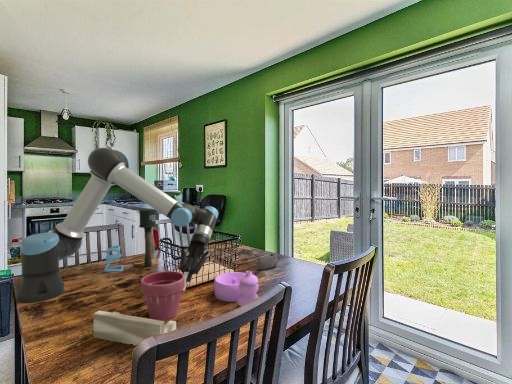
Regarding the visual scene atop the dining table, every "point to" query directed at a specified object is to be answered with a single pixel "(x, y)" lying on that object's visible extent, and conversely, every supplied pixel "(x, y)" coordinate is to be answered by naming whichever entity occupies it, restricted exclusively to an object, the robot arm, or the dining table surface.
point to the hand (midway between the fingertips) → (181, 289)
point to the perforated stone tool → (268, 261)
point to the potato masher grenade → (147, 231)
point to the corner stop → (128, 327)
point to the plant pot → (162, 293)
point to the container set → (236, 287)
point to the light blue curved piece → (113, 257)
